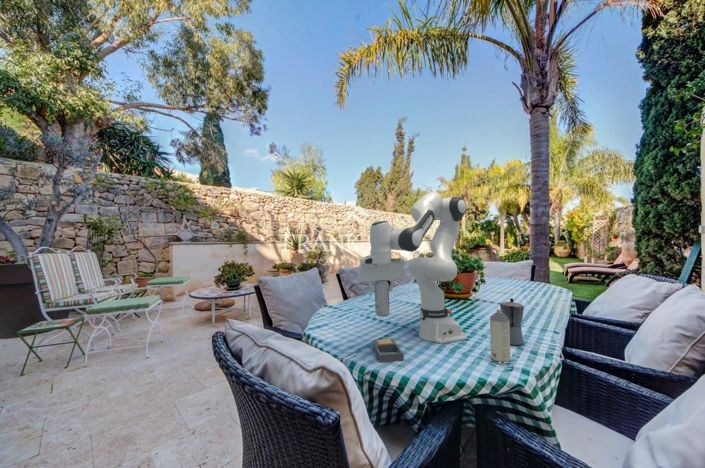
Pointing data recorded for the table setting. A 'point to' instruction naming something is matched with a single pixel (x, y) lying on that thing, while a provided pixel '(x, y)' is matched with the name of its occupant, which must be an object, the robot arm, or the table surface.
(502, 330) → the aerosol can
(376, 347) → the socket block
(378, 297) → the energy drink can
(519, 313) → the moka pot
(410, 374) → the table surface
